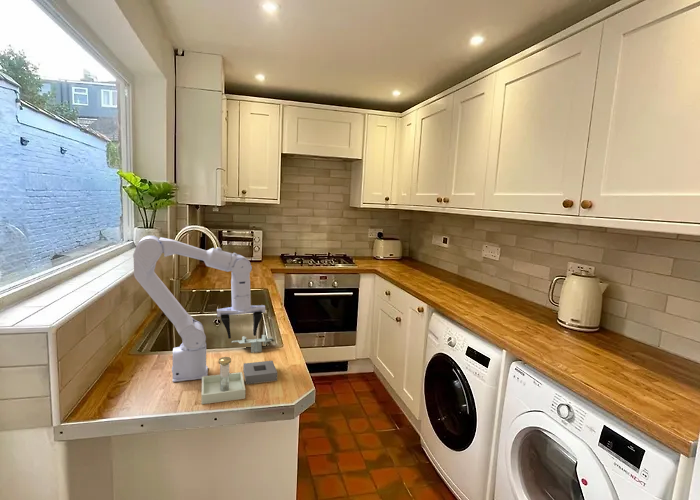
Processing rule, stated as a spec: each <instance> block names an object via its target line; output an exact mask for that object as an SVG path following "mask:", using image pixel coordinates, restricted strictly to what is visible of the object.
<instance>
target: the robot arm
mask: <svg viewBox="0 0 700 500" xmlns="http://www.w3.org/2000/svg"><path fill="white" fill-rule="evenodd" d="M162 254H164V255H163V257H165V258H166V257H170V256H173V255H177V256H182V257H187V258H191V259H195V260H199V261H203V262H204V264H205V266H206V267H208V268H212V269H216V270H220V271H224V272H227V273H228V272H231V279H230V284H231V286H230V290H231V292H230V293H231V306H230V307H229V306H228V307H223V308H217V309H216V317H217V318H218V317H219V318H220V320H221V322H222V324H223V326H224V328H225V330H226V332H227V333H226V334H227V336H228V339H231V338H232V337H231V336H232V334H231V326H230V325H231V324H230V323H231V321H230V316H233V315H234V316H235V315H245V314H252V318H253V323H252V325H253V327H252V332H253V333H252V334H253V336H254V337H256V336H257V331H258V327H259V324H260V321H261V320H262V319H263V318H262V317H263V314H264V313H265V314H266V305H265V304H264V305H263V304H261V305H259V304H258V305H255V304H254V305H253V304H251V301H252V300H251V299H252V298H251V297H252V296H251V294H252V293H251V279H250V277H251V274H250V273H251V272H252V268H253V266H252V265H251V264H252V263H251V262H250V260H249V259H248V258H246V257H245V256H243V255H241V254H238V253H236V252H233V253H232V252H230V251H225V250H222V248H221V247H218V246H216V248H215V247H212V248H209V249H207V250H206V249H202V248H199V247H197V246H194V245H192V244H191V245H190V244H188V243H184V242H182V241H179V240H176V239H171V238H166V237H161V236H160V237H158V236H156V235H152V234H151V235H145V236H144V237H142V238H140V240H139V241H138V243H137V245H136V247H135V249H134V252H133V254H132V257H133V276H134V278H135V280H136V281H137V282H138V283H139V285H140V286H141V287H142V288H143V290H144V291H145V292H146V293H147V295H149V297H150V298H151V299H152V301H153V302H154V303H155V304H156V305H157V306H158V308H159V309H160V310H161V311H162V312H163V314H164V315H165V316H166V317H167V319H168V320H169V321H170V322H171V323H172V324H173V326H174V327H175V329H176V331H177V333H178V335H179V336H180V338H181V340H182V343H181V344H180V345H179V346H177V347H176V346H175V347H173V348H172V366H171V373H172V382H173V383H176V382H183V381H184V382H185V381H193V380H202V376H209V375H208V374H209V371H208V368H209V367H208V365H207V342H206V341H207V336H206V334H205V330H204V329H205V327H204V325H203V323H202V322H200V321H198V320H196V319H195V318H193V316H192V315H191V314H190V313H188V312H187V310H186V309H185V308H184V306H183V305H182V304H181V303H180V302H179V300H177V298H176V297H175V295H174V294H173V293H172V292H171V290H170V289H169V288H168V287H167V285H166V284H165V283H164V282H163V281H162V279H161V278H160V277H159V276H158V274H157V273H156V272H155V268H156V266H157V262H158V261H159V259H160V258H161V256H162Z"/></svg>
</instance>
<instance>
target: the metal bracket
mask: <svg viewBox="0 0 700 500" xmlns="http://www.w3.org/2000/svg"><path fill="white" fill-rule="evenodd" d="M272 340H273V337H268V336H267V335H266V334H261V338H254V339H253V338H252V339H247V337H246V336H245V335H244V336H242V337H241V340H239V339H237V340H232V341H231V343H239V344H240V345H241V344H250V353H251V354H253V353H254V354H255V353H256V354H257V353H262V343H263V342H264V343H265V342H272Z"/></svg>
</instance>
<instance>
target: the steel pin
mask: <svg viewBox="0 0 700 500" xmlns="http://www.w3.org/2000/svg"><path fill="white" fill-rule="evenodd" d="M231 362H232V358H231V356H222V357H220V358H218V364H219V367H220V370H219V375H220V391H228V390H229V374H230V363H231Z"/></svg>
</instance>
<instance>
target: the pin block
mask: <svg viewBox="0 0 700 500" xmlns="http://www.w3.org/2000/svg"><path fill="white" fill-rule="evenodd" d="M242 367H243V369H242V371H243V372H242V373H243V377H244V380H245V381H244V382H245V384H246V385H252V384H253V385H254V384H259V383H261V384H262V383H267V382H269V383H270V382H274V381H275V382H276V381H277V382H278V371H277V369H276V366H275V364H274V361H273V360H265V361H256V362H255V361H254V362H247V363H246V362H245V363H243V366H242Z"/></svg>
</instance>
